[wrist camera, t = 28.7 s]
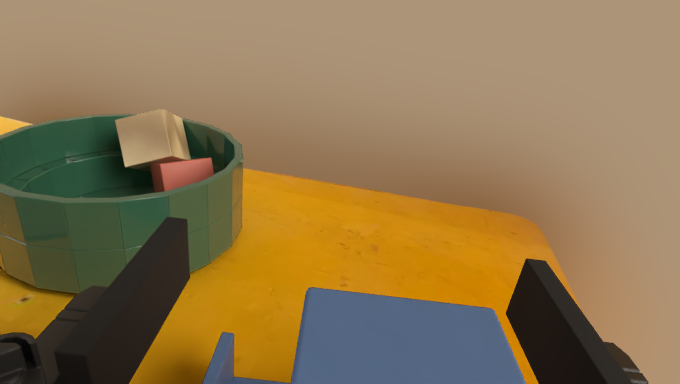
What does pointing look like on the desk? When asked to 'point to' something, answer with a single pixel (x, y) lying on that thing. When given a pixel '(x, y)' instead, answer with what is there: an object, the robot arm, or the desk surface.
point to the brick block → (180, 173)
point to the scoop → (387, 343)
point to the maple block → (152, 139)
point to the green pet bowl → (105, 202)
